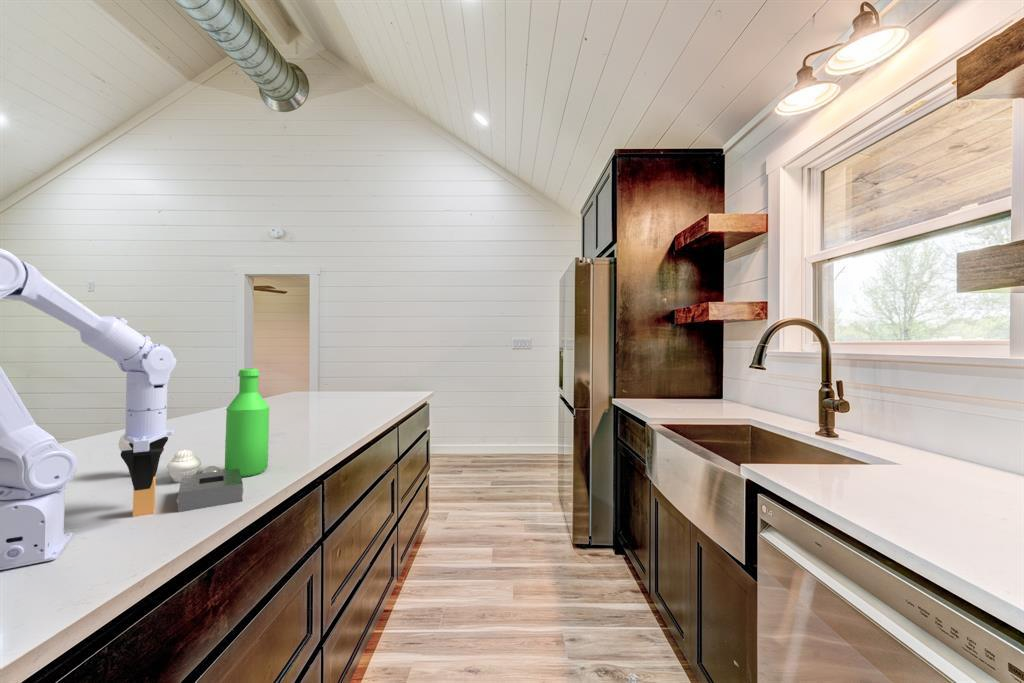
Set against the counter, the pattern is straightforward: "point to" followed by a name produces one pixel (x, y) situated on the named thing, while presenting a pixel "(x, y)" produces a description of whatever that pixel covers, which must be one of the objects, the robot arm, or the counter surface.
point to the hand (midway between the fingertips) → (145, 483)
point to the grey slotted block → (210, 489)
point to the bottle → (247, 428)
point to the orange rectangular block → (144, 500)
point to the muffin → (183, 465)
